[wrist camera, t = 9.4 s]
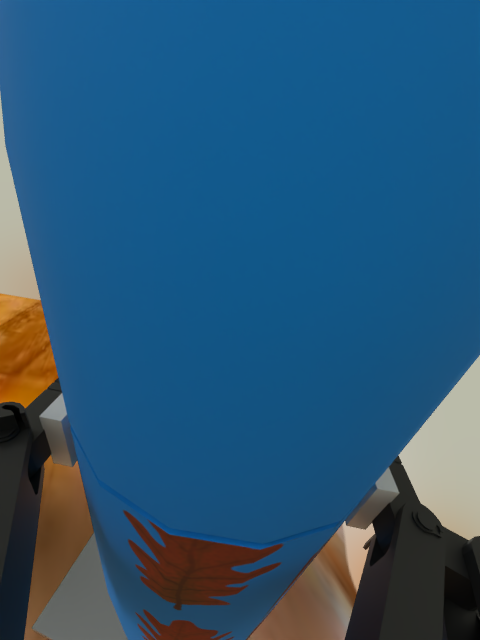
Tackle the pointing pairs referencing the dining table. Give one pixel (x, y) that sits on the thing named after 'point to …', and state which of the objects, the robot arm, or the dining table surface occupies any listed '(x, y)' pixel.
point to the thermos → (243, 270)
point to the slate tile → (81, 604)
